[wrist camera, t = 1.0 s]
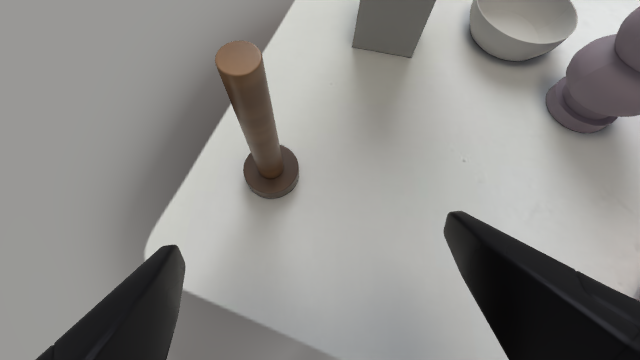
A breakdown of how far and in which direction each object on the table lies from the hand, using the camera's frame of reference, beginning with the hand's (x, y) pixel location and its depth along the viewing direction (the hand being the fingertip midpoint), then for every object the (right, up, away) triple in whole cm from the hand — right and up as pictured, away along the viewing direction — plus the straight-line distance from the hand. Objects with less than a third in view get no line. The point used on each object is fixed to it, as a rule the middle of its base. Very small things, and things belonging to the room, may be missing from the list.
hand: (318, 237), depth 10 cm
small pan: (+22, +23, +26) cm, 41 cm away
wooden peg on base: (-4, +2, +17) cm, 18 cm away
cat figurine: (+27, +10, +21) cm, 36 cm away
